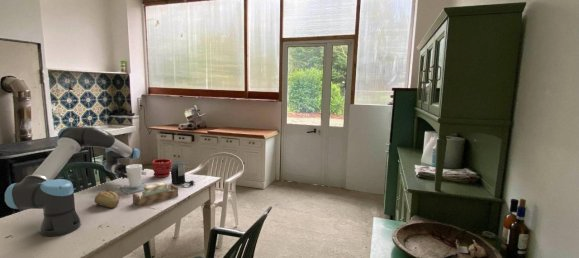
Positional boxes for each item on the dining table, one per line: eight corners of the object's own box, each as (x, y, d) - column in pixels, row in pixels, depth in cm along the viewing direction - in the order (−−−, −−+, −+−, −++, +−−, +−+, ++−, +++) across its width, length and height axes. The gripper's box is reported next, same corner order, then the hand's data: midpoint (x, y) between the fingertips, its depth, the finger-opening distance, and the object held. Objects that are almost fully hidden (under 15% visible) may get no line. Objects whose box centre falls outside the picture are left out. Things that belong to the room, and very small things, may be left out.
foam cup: (142, 186, 190) (141, 167, 188) (126, 188, 187) (125, 168, 185) (143, 182, 199) (142, 163, 197) (128, 183, 195) (127, 164, 193)
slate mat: (127, 194, 182) (127, 193, 182) (118, 188, 192) (118, 187, 192) (151, 188, 193) (151, 188, 193) (142, 183, 203) (142, 182, 203)
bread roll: (105, 200, 173) (104, 187, 172) (124, 204, 168) (123, 191, 167) (89, 206, 164) (88, 192, 163) (109, 210, 159) (108, 196, 158)
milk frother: (172, 181, 210) (172, 161, 208) (195, 179, 214) (195, 160, 212) (170, 187, 196) (169, 166, 194) (194, 186, 200) (194, 165, 198)
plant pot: (156, 179, 212) (155, 163, 210) (150, 175, 222) (150, 160, 220) (174, 176, 221) (173, 161, 219) (168, 172, 230) (167, 157, 229)
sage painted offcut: (145, 197, 169) (145, 193, 168) (142, 195, 172) (142, 191, 171) (168, 191, 179) (168, 187, 179) (165, 189, 182) (165, 185, 181)
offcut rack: (137, 206, 164) (137, 196, 163) (132, 203, 169) (132, 193, 168) (178, 196, 182) (177, 186, 181) (172, 192, 187) (172, 184, 186)
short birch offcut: (147, 192, 169) (146, 188, 169) (144, 190, 172) (143, 186, 172) (167, 187, 178) (166, 183, 177) (163, 185, 181) (163, 182, 180)
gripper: (135, 170, 211) (154, 176, 199) (103, 178, 192) (121, 185, 181) (135, 160, 210) (153, 166, 198) (102, 167, 191) (120, 173, 179)
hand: (138, 175), depth 189 cm, fingers closed on foam cup, 9 cm apart
